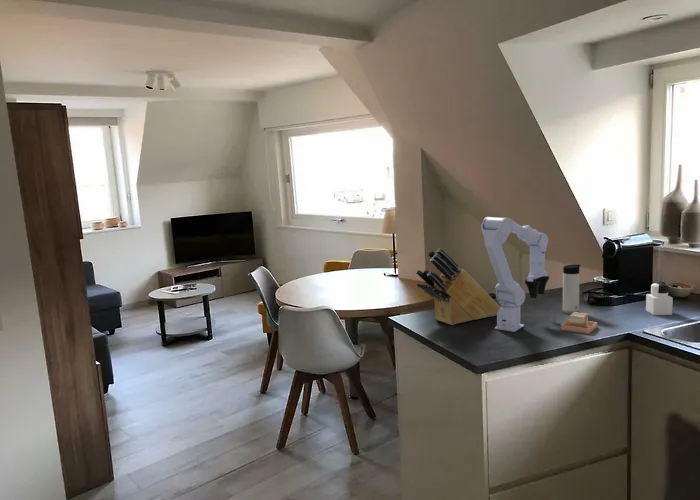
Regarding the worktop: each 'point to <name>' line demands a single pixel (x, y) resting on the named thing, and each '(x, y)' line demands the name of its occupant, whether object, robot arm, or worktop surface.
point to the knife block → (455, 292)
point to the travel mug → (571, 289)
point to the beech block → (579, 320)
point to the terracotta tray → (588, 330)
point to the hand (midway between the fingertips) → (537, 295)
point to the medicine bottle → (659, 300)
